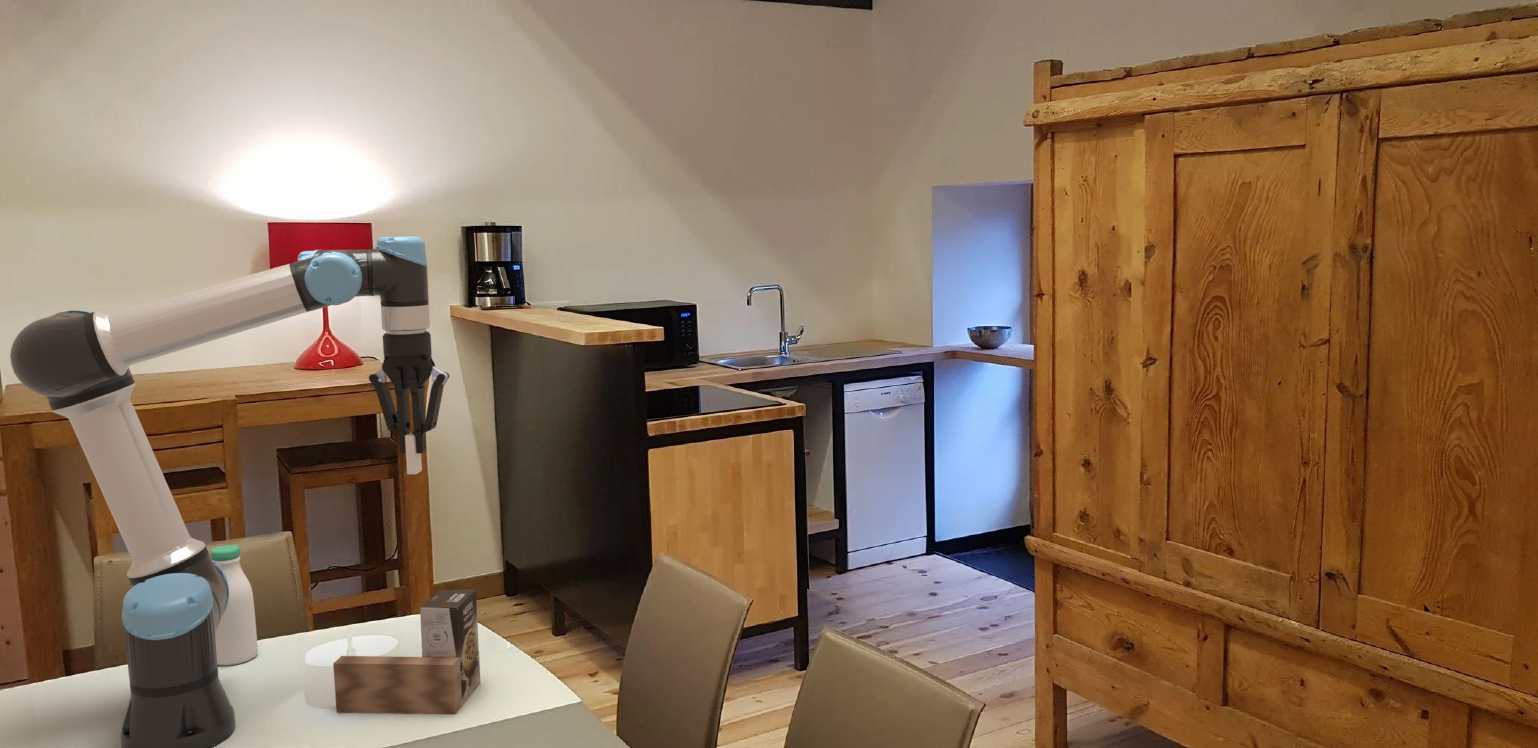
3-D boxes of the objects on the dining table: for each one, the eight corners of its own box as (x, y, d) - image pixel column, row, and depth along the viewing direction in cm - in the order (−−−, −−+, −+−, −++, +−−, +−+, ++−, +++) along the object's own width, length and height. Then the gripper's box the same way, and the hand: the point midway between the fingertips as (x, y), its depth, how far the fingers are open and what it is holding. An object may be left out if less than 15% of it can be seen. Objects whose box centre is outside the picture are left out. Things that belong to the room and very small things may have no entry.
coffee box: (463, 706, 179) (457, 607, 177) (423, 705, 180) (417, 607, 177) (482, 682, 188) (477, 588, 186) (444, 681, 189) (439, 588, 186)
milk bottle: (267, 655, 201) (258, 545, 198) (226, 670, 195) (217, 557, 192) (241, 646, 205) (232, 539, 202) (200, 661, 199) (190, 550, 196)
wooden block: (336, 712, 177) (333, 663, 176) (344, 704, 180) (341, 656, 179) (455, 714, 176) (453, 665, 175) (462, 705, 179) (459, 657, 178)
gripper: (453, 328, 189) (460, 467, 192) (376, 329, 190) (385, 467, 193) (437, 333, 181) (445, 477, 185) (357, 333, 182) (367, 477, 186)
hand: (414, 472), depth 189 cm, fingers closed
